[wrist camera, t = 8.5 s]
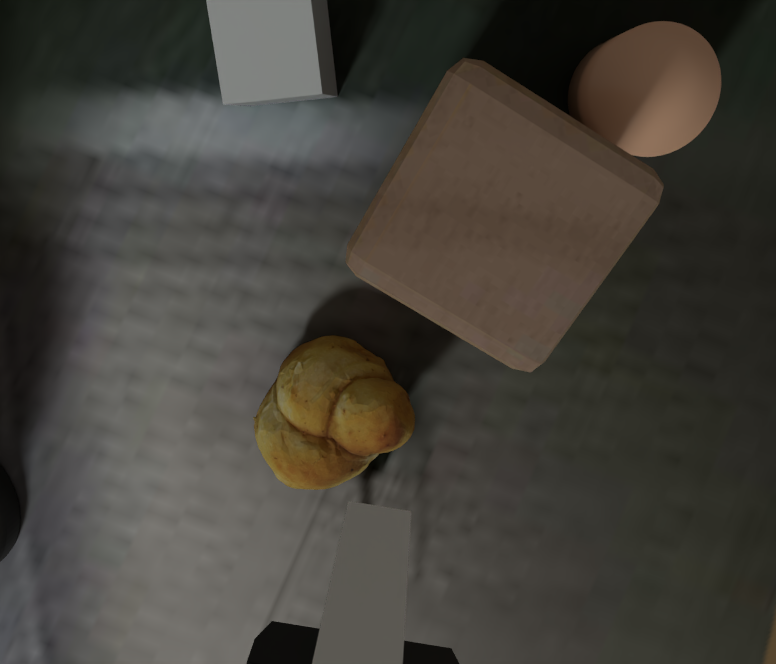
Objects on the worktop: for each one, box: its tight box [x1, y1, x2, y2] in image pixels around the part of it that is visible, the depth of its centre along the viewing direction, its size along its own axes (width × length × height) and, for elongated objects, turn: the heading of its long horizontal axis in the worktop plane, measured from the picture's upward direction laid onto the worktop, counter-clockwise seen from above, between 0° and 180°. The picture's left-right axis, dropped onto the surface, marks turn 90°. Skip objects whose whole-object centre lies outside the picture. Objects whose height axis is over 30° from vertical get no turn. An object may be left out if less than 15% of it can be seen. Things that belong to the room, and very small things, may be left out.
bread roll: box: [253, 335, 415, 490], centre depth 48 cm, size 13×10×8 cm
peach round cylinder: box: [568, 21, 721, 157], centre depth 40 cm, size 7×7×7 cm
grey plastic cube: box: [206, 0, 338, 106], centre depth 42 cm, size 6×6×6 cm
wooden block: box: [345, 58, 664, 372], centre depth 36 cm, size 10×10×20 cm
